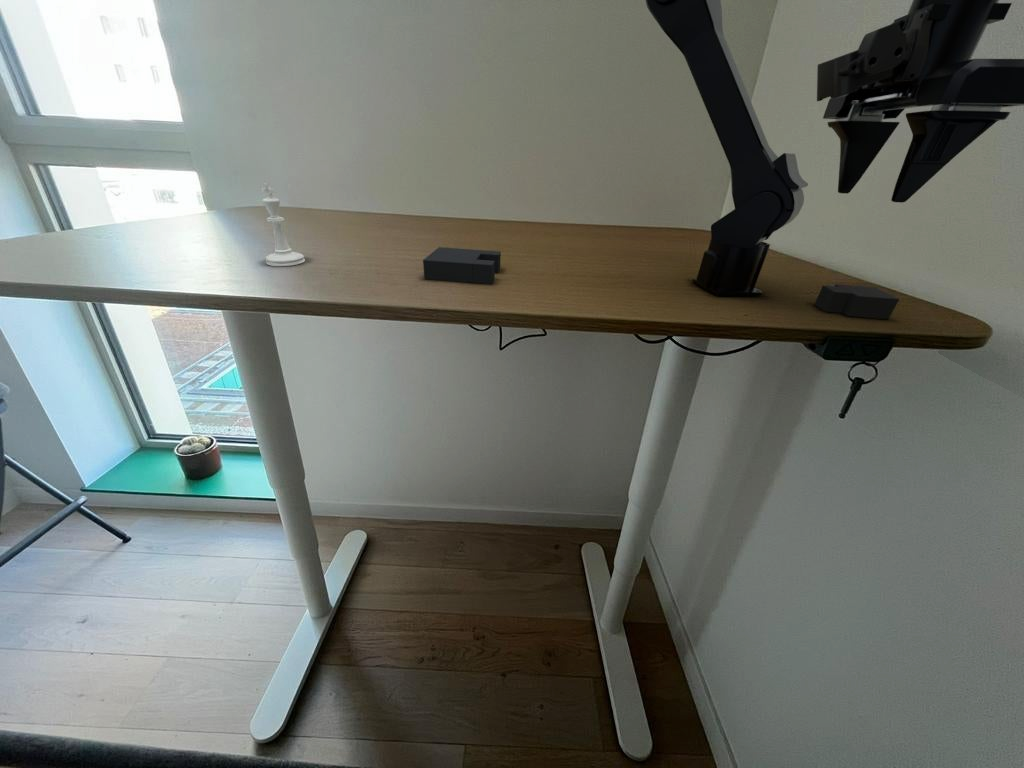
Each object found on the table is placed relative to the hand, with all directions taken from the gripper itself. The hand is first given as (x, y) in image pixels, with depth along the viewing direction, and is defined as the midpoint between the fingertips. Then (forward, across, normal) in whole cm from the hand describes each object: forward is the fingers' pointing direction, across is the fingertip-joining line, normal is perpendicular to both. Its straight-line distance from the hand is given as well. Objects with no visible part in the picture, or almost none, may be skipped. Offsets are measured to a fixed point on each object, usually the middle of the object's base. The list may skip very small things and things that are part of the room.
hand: (867, 197), depth 42 cm
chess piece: (+12, -1, -70) cm, 71 cm away
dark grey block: (+12, -1, +5) cm, 13 cm away
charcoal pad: (+12, -3, -45) cm, 46 cm away
